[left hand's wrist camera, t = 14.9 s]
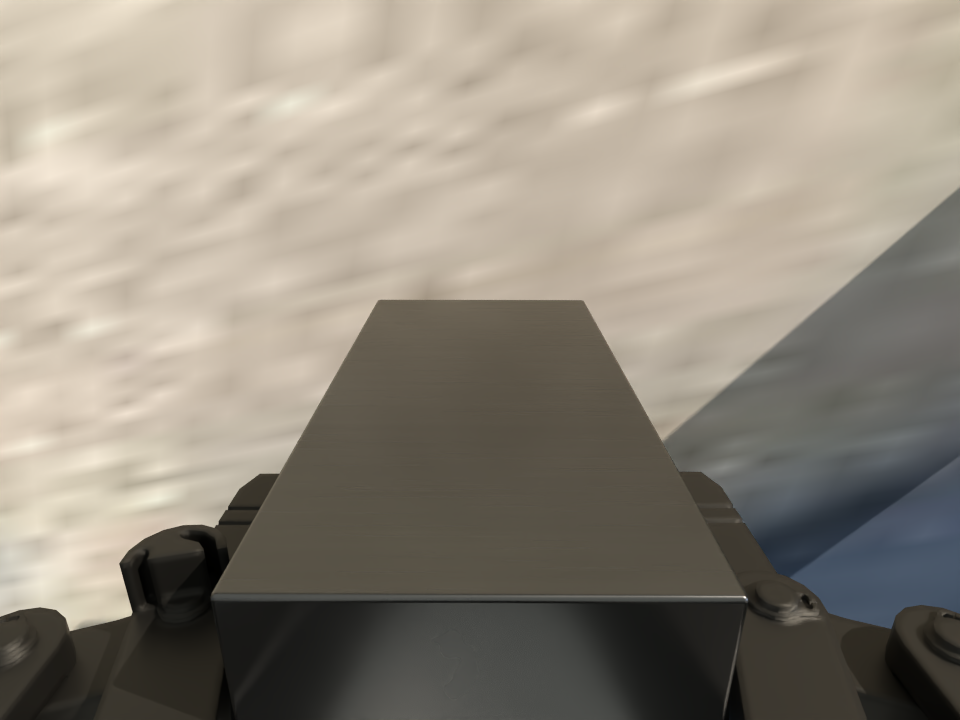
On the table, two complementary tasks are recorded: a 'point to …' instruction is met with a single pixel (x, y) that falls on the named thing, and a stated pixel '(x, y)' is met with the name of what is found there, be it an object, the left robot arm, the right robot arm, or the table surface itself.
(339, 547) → the bar
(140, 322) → the table surface
